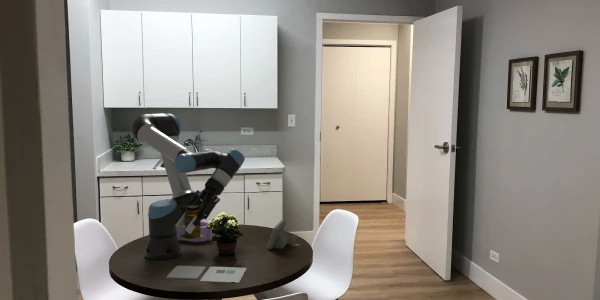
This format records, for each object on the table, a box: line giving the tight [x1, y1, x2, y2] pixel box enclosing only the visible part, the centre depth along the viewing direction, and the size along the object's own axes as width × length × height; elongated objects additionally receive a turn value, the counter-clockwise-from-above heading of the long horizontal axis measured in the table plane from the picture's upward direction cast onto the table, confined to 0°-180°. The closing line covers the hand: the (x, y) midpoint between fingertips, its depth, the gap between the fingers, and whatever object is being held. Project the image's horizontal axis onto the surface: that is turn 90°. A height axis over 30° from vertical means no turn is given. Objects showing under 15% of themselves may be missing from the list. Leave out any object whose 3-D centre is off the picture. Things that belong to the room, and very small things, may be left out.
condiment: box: [177, 205, 204, 241], centre depth 183 cm, size 7×8×12 cm
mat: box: [165, 265, 207, 280], centre depth 185 cm, size 12×12×1 cm
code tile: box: [199, 266, 248, 284], centre depth 184 cm, size 15×15×1 cm
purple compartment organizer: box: [177, 220, 215, 243], centre depth 230 cm, size 20×12×7 cm, turn 91°
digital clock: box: [266, 219, 288, 250], centre depth 220 cm, size 16×9×11 cm, turn 156°
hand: (182, 229), depth 181 cm, fingers closed on condiment, 6 cm apart
